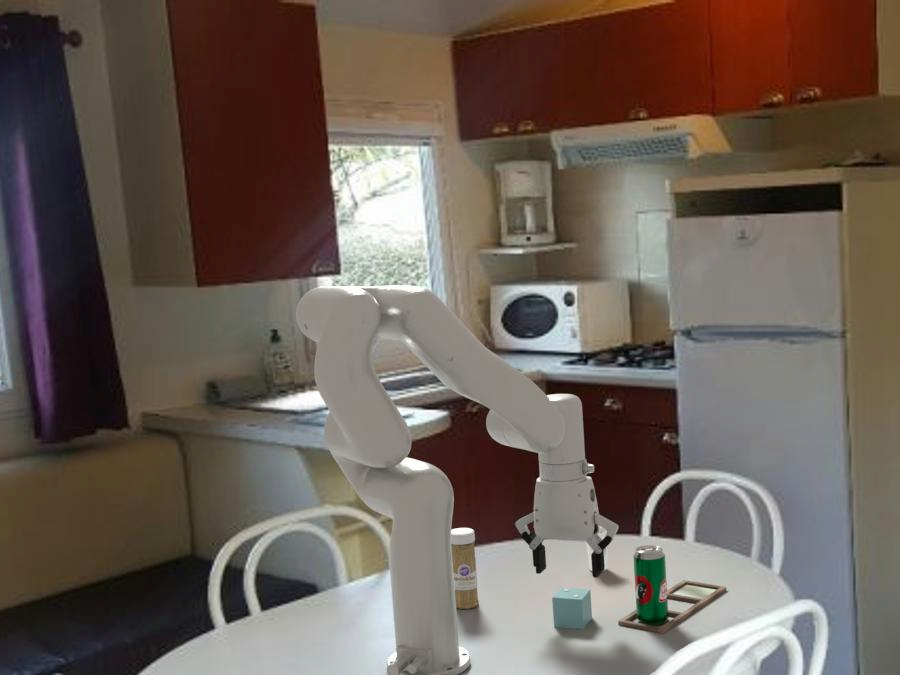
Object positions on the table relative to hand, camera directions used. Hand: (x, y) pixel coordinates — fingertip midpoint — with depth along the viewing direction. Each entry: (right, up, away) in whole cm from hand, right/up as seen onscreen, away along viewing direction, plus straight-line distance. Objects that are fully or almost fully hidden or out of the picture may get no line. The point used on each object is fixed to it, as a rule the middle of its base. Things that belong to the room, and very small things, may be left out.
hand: (569, 573), depth 183 cm
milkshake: (+8, -5, +26) cm, 28 cm away
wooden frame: (+18, -7, +4) cm, 20 cm away
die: (+1, -8, +1) cm, 8 cm away
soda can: (+13, -8, -1) cm, 16 cm away
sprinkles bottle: (-17, -9, +13) cm, 22 cm away
